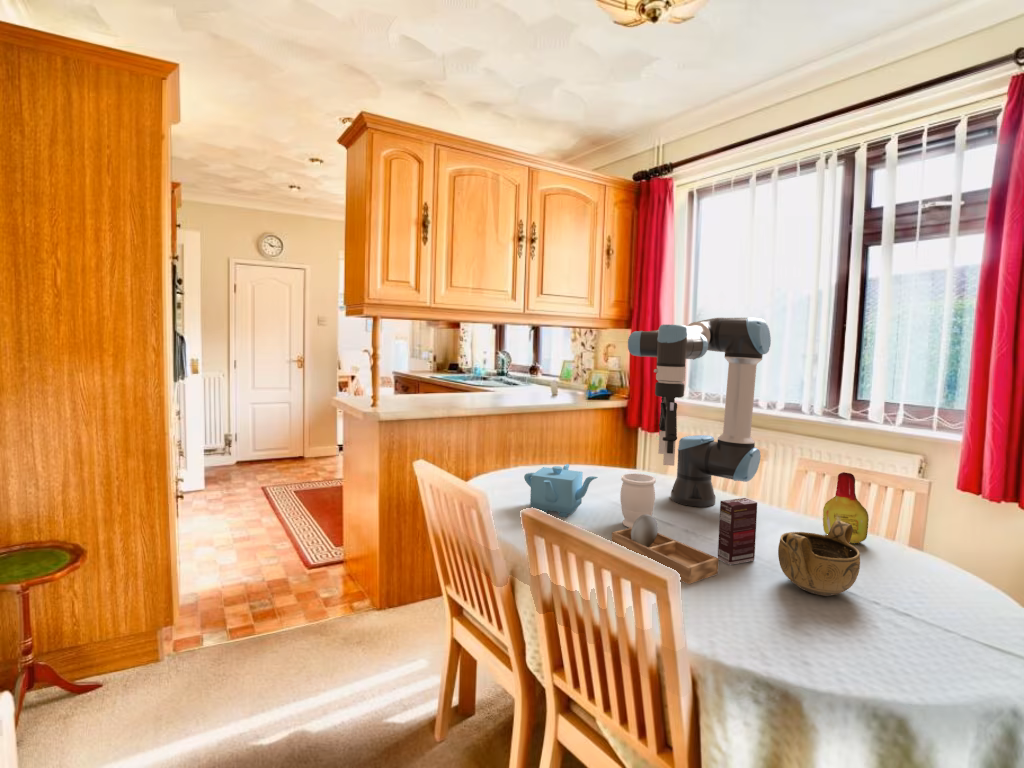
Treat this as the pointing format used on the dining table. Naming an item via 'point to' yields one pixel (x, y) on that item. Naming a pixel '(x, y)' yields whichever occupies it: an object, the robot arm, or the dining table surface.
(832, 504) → the bottle
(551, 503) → the teakettle
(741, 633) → the dining table surface
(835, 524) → the ceramic bowl
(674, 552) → the tray
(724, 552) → the supplement box
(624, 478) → the jar
